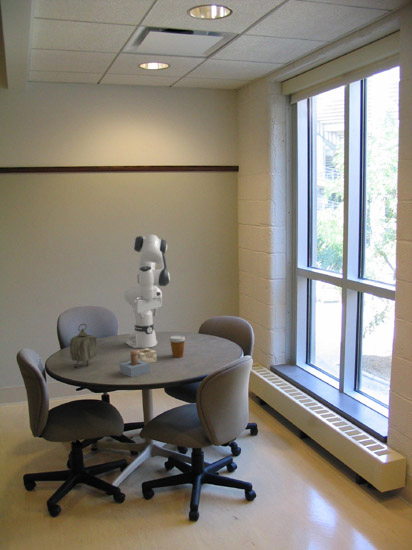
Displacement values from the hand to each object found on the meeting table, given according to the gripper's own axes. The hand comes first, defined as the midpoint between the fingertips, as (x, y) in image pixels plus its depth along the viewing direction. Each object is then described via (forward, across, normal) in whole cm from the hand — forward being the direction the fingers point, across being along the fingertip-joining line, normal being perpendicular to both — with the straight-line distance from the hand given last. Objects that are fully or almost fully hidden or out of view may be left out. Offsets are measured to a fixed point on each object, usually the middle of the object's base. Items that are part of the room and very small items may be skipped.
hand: (148, 317), depth 330 cm
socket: (+26, -20, -8) cm, 34 cm away
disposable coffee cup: (+28, +17, -6) cm, 33 cm away
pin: (+26, -20, -8) cm, 34 cm away
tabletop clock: (+26, -28, +26) cm, 47 cm away
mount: (+27, -2, +4) cm, 27 cm away
